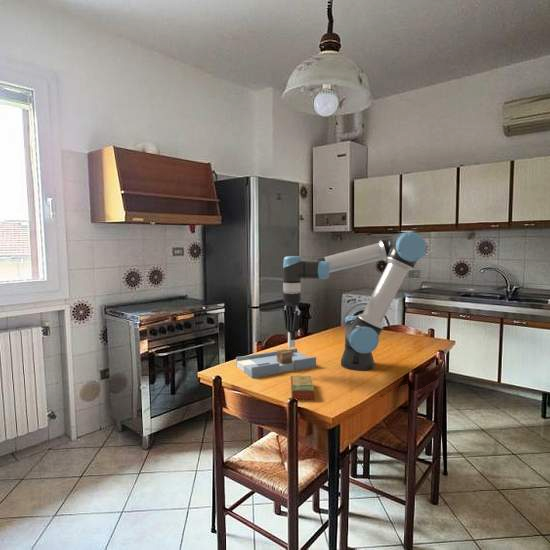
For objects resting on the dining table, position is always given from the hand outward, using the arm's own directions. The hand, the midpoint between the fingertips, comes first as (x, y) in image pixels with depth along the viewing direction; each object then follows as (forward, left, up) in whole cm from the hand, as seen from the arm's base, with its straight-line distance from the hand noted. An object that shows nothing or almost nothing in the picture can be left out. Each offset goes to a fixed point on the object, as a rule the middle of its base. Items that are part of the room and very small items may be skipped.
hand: (291, 346), depth 172 cm
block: (+8, -1, -9) cm, 12 cm away
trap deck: (+12, +1, -12) cm, 17 cm away
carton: (-21, +7, -13) cm, 25 cm away
